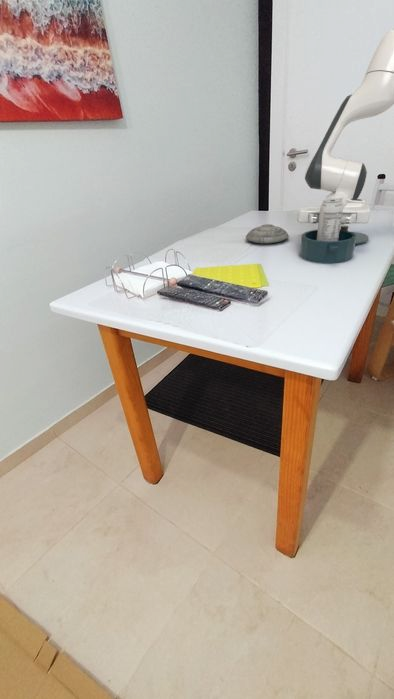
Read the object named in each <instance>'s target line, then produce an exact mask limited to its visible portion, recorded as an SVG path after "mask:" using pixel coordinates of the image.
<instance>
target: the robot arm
mask: <svg viewBox="0 0 394 699" xmlns="http://www.w3.org/2000/svg"><path fill="white" fill-rule="evenodd" d="M393 105H394V28H393V29H391V30H389V31H388V32H387V33H385V34H384V35H383V37H382V38H381V40H380V42H379V43H378V45H377V47H376V49H375V51H374V53H373V55H372V57H371V60H370V62H369V64H368V67H367V69H366V72H365V74H364V77H363V80H362V81H361V83H360V85H359V86H358V88H357V89H356V90H355V91H354V92H353V93H351V94H349V95H347V96H346V97H345V98H344V100H343V101H342V102H341V104H340V106H339V108H338V110H337V112H336V113H335V115H334V117H333V119H332V120H331V122H330V125H329V127H328V129H327V131H326V133H325V135H324V137H323V138H322V140H321V142H320V145H319V146H318V148H317V150H316V152H315V154H314V156H313V157H312V159H311V160H310V162H309V163H308V165H307V166H306V167H307V168H306V170H305V175H304V180H305V183H306V184H307V186H308V187H309V188H310V189H313V190H322V191H326V192H330V193H329V194H328V195H326V197H324V198H325V199H341V200H342V201H341V202H342V205H343V212H342V218H341V225H340V226H343V225H352V224H368V223H369V221H370V217H371V207H370V206H369V205H368V204H367V203H366V202H367V200H365V199H360V196H361V193H362V191H363V189H364V186H365V184H366V179H367V174H368V172H367V167H366V165H365V164H364V162H361V161H357V160H352V159H345V158H341V157H336V156H332V155H331V153H332V150H333V149H334V148H335V144H336V143H337V141H338V139H339V138H340V135H341V134H342V132H343V130H344V129H345V127H347V126H348V125H349V124H351V123H353V122H356V121H360V120H365V119H369V118H372V117H376V116H379V115H381V114H384V113H385V112H386V111H388V110H389V109H390V108H391V107H392V106H393ZM325 199H324V200H325ZM320 207H321V205H320V206H303V207H301V208H300V209H298V212H297V222H298V223H300V224H303V223H304V224H318V223H319V215H320Z"/></svg>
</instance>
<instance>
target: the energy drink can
mask: <svg viewBox="0 0 394 699" xmlns="http://www.w3.org/2000/svg"><path fill="white" fill-rule="evenodd" d="M341 201H342V200H341V199H323V201H322V203H321V205H320V206H321V207H320V215H319V223H317V230H318V232H317V241H338V238H339V231H340V227H341V226H342V225H341V218H342V212H343V205H342V202H341Z"/></svg>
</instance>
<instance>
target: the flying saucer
mask: <svg viewBox="0 0 394 699" xmlns="http://www.w3.org/2000/svg"><path fill="white" fill-rule="evenodd" d="M289 235H290V234H289V233H288V232H287V230H285V229H284V228H282V227H280V226H276V225H273V224H270V223H267V224H266V223H265V224H262V225H260V226H256V227H254V228H253V229H251V230H250V231H248V233H247V234H246V235H245V239H246V240H247V241H249V242H252V243H257V244H274V243H280V242H283V241H285V240H287V239H288V238H289V237H290V236H289Z"/></svg>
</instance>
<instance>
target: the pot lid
mask: <svg viewBox="0 0 394 699" xmlns="http://www.w3.org/2000/svg"><path fill="white" fill-rule="evenodd" d="M340 230H345V231H349V225H346V224H343V225H340ZM351 232H352V233H354V234H355V235H356V241H355V245H361V244H365V243H367V242H368V241H369V236H368V235H367V234H364V233H361V232H358V231H351Z"/></svg>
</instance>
